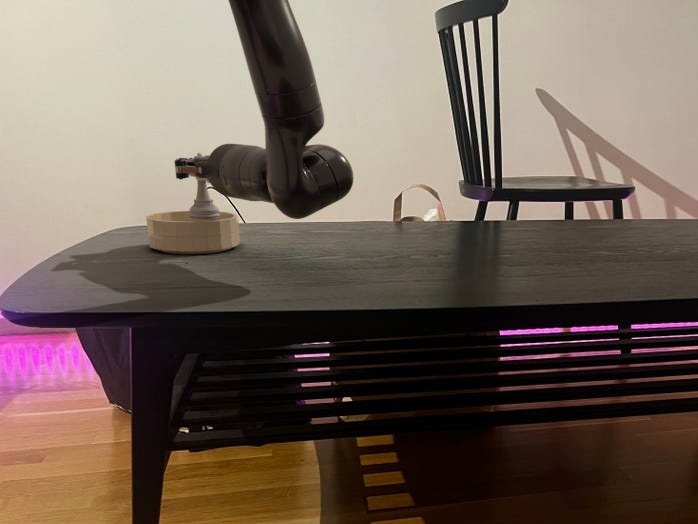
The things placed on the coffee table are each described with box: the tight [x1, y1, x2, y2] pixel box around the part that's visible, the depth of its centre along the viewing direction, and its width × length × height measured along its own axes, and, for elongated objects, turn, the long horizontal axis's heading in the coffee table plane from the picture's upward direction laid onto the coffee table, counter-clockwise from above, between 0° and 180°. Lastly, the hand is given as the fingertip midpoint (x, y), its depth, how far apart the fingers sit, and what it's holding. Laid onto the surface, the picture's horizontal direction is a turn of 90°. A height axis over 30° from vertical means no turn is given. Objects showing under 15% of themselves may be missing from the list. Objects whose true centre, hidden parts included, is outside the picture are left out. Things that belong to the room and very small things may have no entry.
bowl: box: [145, 210, 241, 255], centre depth 109 cm, size 13×13×5 cm
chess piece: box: [189, 152, 220, 221], centre depth 108 cm, size 4×4×10 cm
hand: (191, 165), depth 109 cm, fingers closed on chess piece, 2 cm apart
